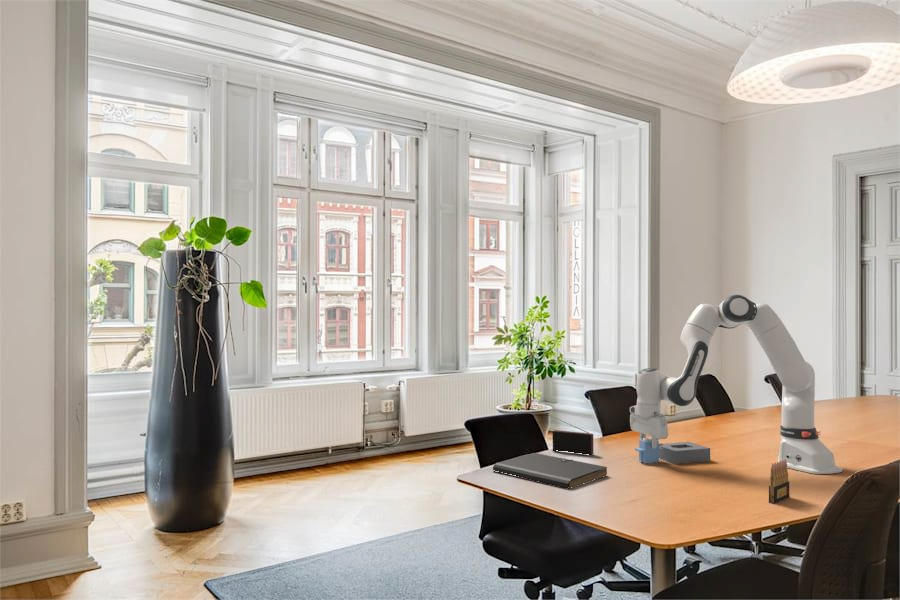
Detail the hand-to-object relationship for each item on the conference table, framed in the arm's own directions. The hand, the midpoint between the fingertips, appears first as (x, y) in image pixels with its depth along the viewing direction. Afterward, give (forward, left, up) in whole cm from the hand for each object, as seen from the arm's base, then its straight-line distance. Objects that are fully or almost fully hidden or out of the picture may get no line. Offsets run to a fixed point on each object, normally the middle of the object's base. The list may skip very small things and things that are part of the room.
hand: (648, 446), depth 256 cm
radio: (+24, +21, -6) cm, 32 cm away
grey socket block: (0, -15, -6) cm, 16 cm away
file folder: (-5, +44, -7) cm, 45 cm away
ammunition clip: (-56, -9, -6) cm, 57 cm away
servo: (0, 0, -6) cm, 6 cm away
